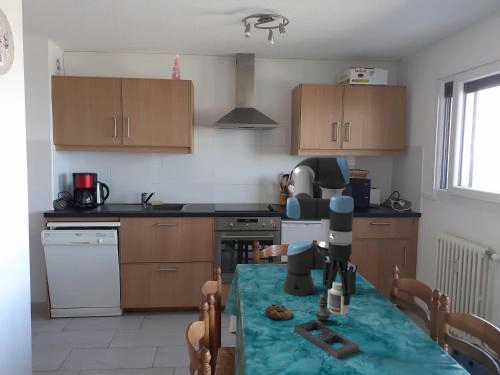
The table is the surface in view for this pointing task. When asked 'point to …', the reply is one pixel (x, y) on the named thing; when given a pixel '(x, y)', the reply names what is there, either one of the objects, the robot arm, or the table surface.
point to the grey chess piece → (323, 310)
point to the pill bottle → (335, 298)
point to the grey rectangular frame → (326, 339)
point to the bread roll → (277, 312)
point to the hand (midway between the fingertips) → (337, 310)
